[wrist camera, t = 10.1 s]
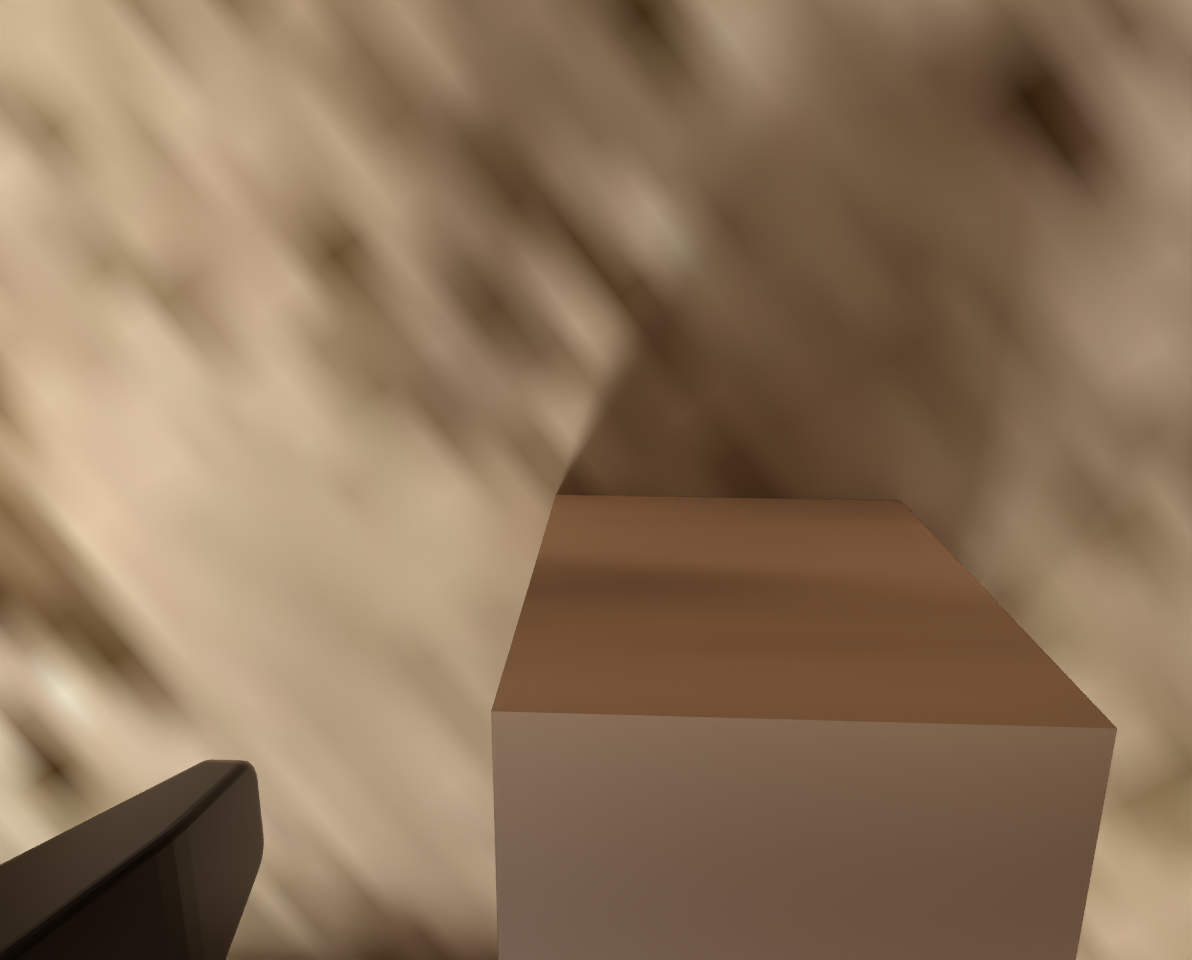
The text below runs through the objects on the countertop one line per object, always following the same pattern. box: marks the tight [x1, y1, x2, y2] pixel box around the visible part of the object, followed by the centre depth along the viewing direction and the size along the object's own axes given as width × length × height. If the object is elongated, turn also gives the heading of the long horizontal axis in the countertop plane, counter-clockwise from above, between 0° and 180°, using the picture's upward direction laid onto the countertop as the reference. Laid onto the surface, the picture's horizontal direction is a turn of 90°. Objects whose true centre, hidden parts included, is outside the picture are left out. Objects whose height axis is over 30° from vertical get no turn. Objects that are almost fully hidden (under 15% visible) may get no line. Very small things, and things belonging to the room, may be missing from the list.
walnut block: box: [491, 495, 1117, 960], centre depth 9 cm, size 4×4×5 cm
